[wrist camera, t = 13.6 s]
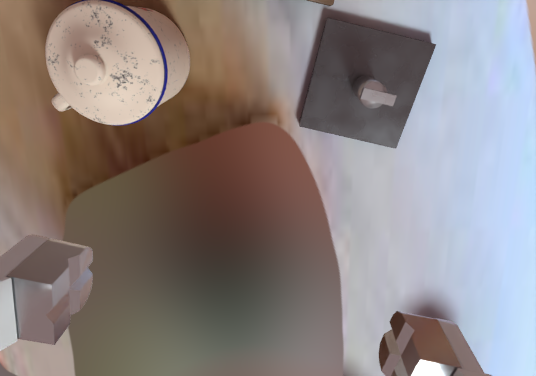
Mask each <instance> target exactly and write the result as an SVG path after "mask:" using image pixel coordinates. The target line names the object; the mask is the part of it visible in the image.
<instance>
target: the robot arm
mask: <svg viewBox="0 0 536 376" xmlns="http://www.w3.org/2000/svg"><path fill="white" fill-rule="evenodd" d="M92 261H93V250H92V249H91V248H90V247H87V246H82V245H78V244H74V243H69V242H65V241H61V240H56V239H50V238H46V237H42V236H37V235H28V236H26V237H25V238H23V239H22V240H21V241H20V242H18V243H17V244H16V245H15V246H13V247H12V248H11V249H10V250H8V251H7V252H6V253H4V254H3V255H2V256H1V257H0V351H1V350H3V349H4V348H6V347H8V346H10V345H11V344H13V343H15V342H16V341H17V340H18V339H22V340H28V341H34V342H40V343H46V344H52V345H55V343H56V342H57V341H58V339H59V338H60V337H61V335H62V334H63V333H64V331H65V330H66V329H67V327H68V326H69V325H70V315H72V314H74V313H76V312H78V311H80V309H81V308H82V307H83V305H84V304H85V303H86V301H87V298H88V296H89V293H90V291H91V287H92V282H93V280H92V279H93V275H92V273H91V272H90V270H89V269H88V266H89V265H90V264H91V262H92ZM390 324H391V327H392V330H390V331H388V332H387V333H385V334H384V335H383V338H382V340H381V342H380V348H379V363H380V367H381V371H382V372H383V373H384V374H385V375H386V376H491V375H489V374H485V373H484V372H483V370H482V368H481V366H480V365H479V363H478V361H477V359H476V358H475V356H474V354H473V352H472V351H471V349H470V347H469V345H468V343H467V342H466V340H465V338H464V336H463V335H462V333H461V331H460V329H459V328H458V326H457V325H456V324H455V323H454V322H453V321H449V320H443V319H438V318H429V317H424V316H419V315H415V314H410V313H405V312H400V311H397V312H395V313H394V314H393V316H392V318H391V320H390Z"/></svg>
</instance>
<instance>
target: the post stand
mask: <svg viewBox="0 0 536 376" xmlns="http://www.w3.org/2000/svg"><path fill="white" fill-rule="evenodd" d="M435 46H436V44H432V43H428V42H424V41H420V40H416V39H412V38H408V37H404V36H400V35H396V34H391V33H387V32H383V31H379V30H375V29H371V28H367V27H363V26H359V25H355V24H351V23H347V22H343V21H339V20H335V19H330V18H327V19H326V23H325V27H324V31H323V35H322V38H321V42H320V46H319V50H318V54H317V57H316V61H315V65H314V69H313V73H312V77H311V80H310V84H309V88H308V92H307V96H306V100H305V103H304V107H303V111H302V115H301V119H300V122H299V126H300V127H305V128H309V129H313V130H318V131H322V132H326V133H331V134H335V135H339V136H344V137H348V138H352V139H357V140H361V141H365V142H370V143H374V144H378V145H383V146H387V147H391V148H396V147H397V144H398V142H399V139H400V137H401V134H402V131H403V129H404V126H405V124H406V121H407V119H408V116H409V113H410V111H411V108H412V106H413V103H414V100H415V98H416V95H417V93H418V90H419V87H420V85H421V82H422V80H423V77H424V74H425V72H426V69H427V67H428V64H429V62H430V59H431V56H432V54H433V51H434V49H435Z"/></svg>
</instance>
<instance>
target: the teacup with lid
mask: <svg viewBox="0 0 536 376" xmlns="http://www.w3.org/2000/svg"><path fill="white" fill-rule="evenodd" d="M45 54H46V63H47V68H48V71H49V75H50V77H51V80H52V82H53V84H54V86H55V87H56V89H57V91H58V92H59V93H58V94H56V95H55V96H54V97H53V99H52V104H53V105H54V107H55V108H56V109H57V110H58V111H65V110H68V109H71V108H73V109H75V110H76V111H77V112H79V113H80V114H82V115H83V116H85V117H87V118H89V119H91V120H93V121H96V122H99V123H103V124H108V125H128V124H132V123H136V122H138V121H140V120H142V119H144V118H146V117H147V116H148V115H150V114H151V113H152V112H153V111H154V110H155V109H156V108H157V106H159V105H160V104H162V103H164V102H165V101H167V100H168V99H170V98H172V97H173V96H174V95H176V94H177V93H178V92H179V91H180V90H181V88H182V87H183V85H184V84H185V82H186V80H187V77H188V74H189V69H190V55H189V50H188V46H187V43H186V41H185V38H184V37H183V35H182V33H181V31H180V30H179V29H178V27H177V26H176V25H175V24H174V23H173V22H172V21H171V20H170V19H169V18H167V17H166V16H165V15H163V14H161V13H159V12H157V11H155V10H152V9H148V8H142V7H134V6H126V5H123V4H120V3H118V2H115V1H112V0H81V1H78V2H76V3H74V4H72V5H70V6H69V7H67V8H66V9H65V10H63V11H62V12H61V13H60V14H59V15H58V16H57V17H56V19H55V20H54V22H53V23H52V25H51V27H50V30H49V32H48V36H47V40H46V48H45Z"/></svg>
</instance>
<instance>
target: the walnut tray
mask: <svg viewBox="0 0 536 376" xmlns="http://www.w3.org/2000/svg"><path fill="white" fill-rule="evenodd" d="M308 1H312V2H316V3H320V4H324V5H328V6H331V5H333V3H334V0H308Z"/></svg>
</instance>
